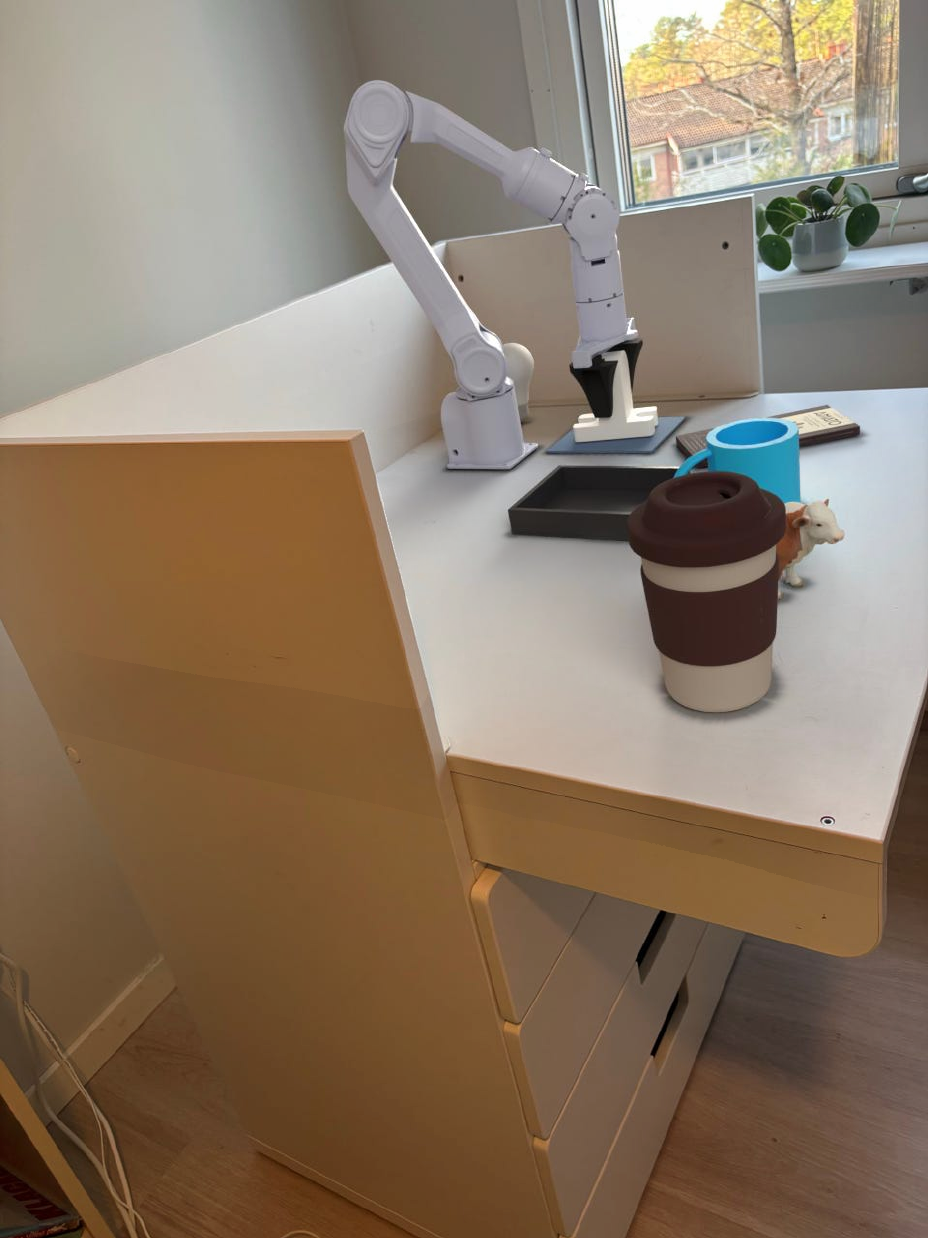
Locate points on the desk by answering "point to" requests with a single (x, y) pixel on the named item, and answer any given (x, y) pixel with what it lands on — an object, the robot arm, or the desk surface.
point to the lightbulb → (519, 374)
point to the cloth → (620, 441)
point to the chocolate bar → (811, 422)
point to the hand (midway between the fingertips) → (613, 408)
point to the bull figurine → (805, 535)
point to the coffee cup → (711, 585)
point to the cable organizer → (618, 411)
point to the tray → (586, 501)
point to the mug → (755, 454)
